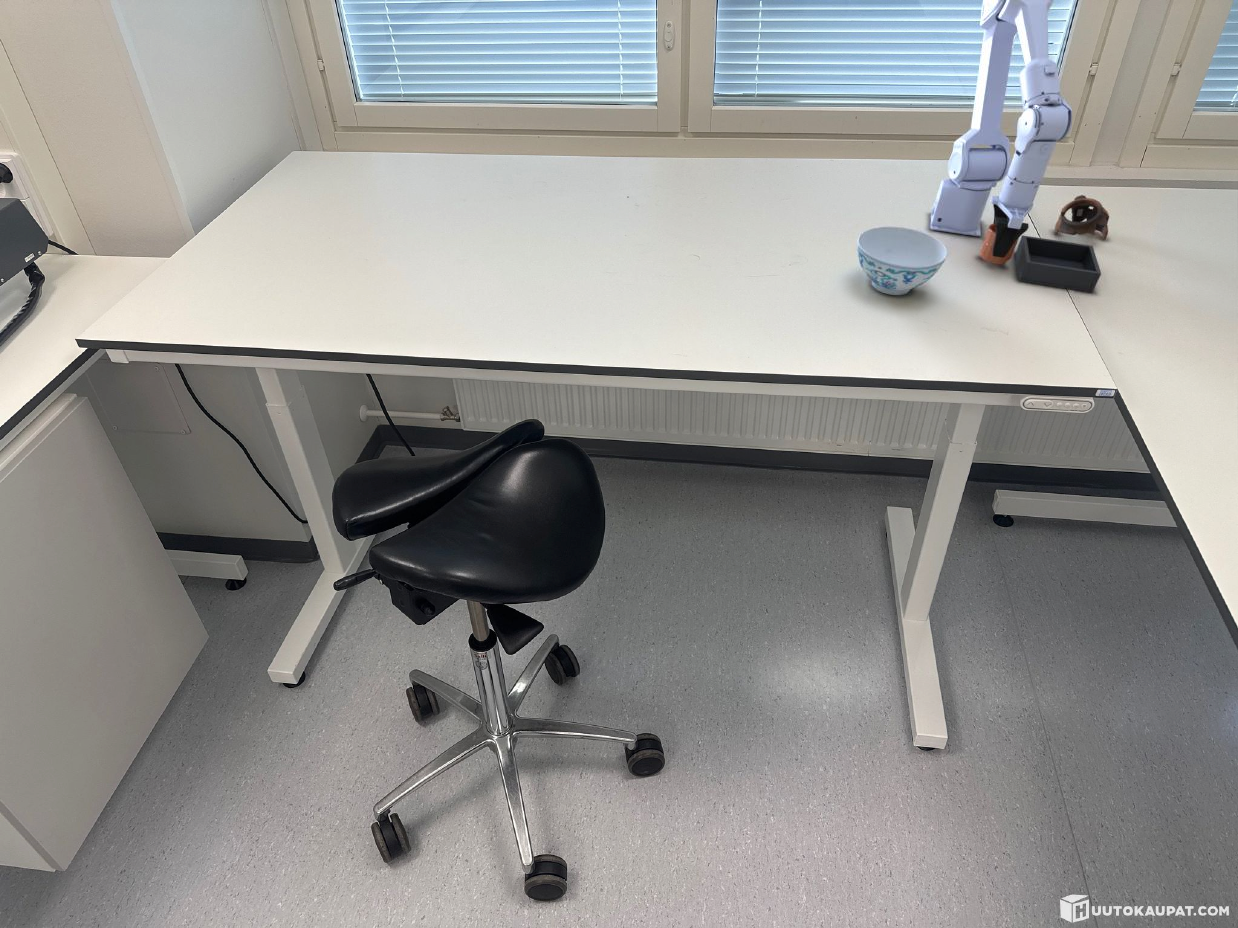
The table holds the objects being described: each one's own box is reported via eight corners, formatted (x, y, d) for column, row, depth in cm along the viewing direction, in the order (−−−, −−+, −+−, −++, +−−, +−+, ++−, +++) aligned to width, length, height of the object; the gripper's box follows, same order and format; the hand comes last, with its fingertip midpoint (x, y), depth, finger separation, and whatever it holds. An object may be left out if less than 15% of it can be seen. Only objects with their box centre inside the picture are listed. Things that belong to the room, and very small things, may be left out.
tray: (1019, 281, 145) (1026, 262, 143) (1015, 253, 154) (1022, 235, 151) (1092, 293, 143) (1101, 273, 140) (1084, 264, 151) (1092, 245, 149)
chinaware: (887, 315, 135) (899, 273, 130) (831, 275, 145) (840, 235, 140) (952, 296, 141) (966, 256, 135) (894, 259, 150) (905, 220, 145)
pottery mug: (1115, 249, 157) (1115, 218, 151) (1061, 263, 161) (1059, 233, 155) (1099, 209, 164) (1099, 177, 158) (1048, 223, 168) (1045, 193, 162)
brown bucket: (979, 261, 149) (989, 234, 145) (978, 248, 153) (988, 221, 149) (1010, 266, 148) (1021, 238, 144) (1008, 253, 152) (1019, 226, 148)
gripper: (998, 159, 146) (974, 229, 155) (1002, 189, 135) (976, 262, 145) (1039, 164, 144) (1012, 234, 154) (1046, 196, 134) (1017, 269, 143)
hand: (997, 248), depth 149 cm, fingers closed on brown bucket, 5 cm apart
